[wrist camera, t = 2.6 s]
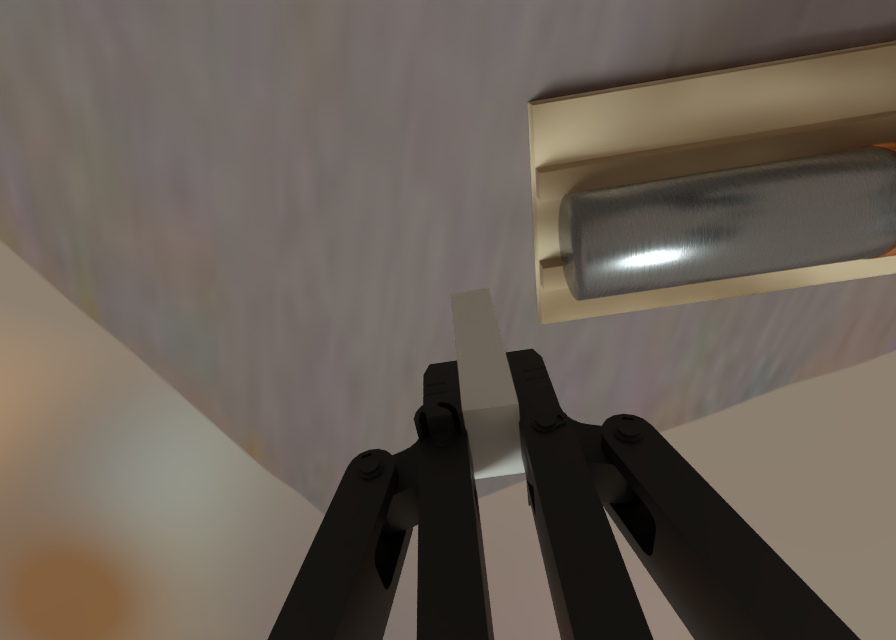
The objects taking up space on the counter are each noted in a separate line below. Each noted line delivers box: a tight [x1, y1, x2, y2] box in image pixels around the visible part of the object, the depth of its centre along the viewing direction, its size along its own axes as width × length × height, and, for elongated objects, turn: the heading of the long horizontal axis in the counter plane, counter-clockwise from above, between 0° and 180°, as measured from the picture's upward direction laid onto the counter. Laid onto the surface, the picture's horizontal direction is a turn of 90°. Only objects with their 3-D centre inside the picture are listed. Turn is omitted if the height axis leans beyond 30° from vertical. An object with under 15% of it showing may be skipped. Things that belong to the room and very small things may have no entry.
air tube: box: [558, 141, 896, 301], centre depth 21 cm, size 20×5×5 cm, turn 98°
